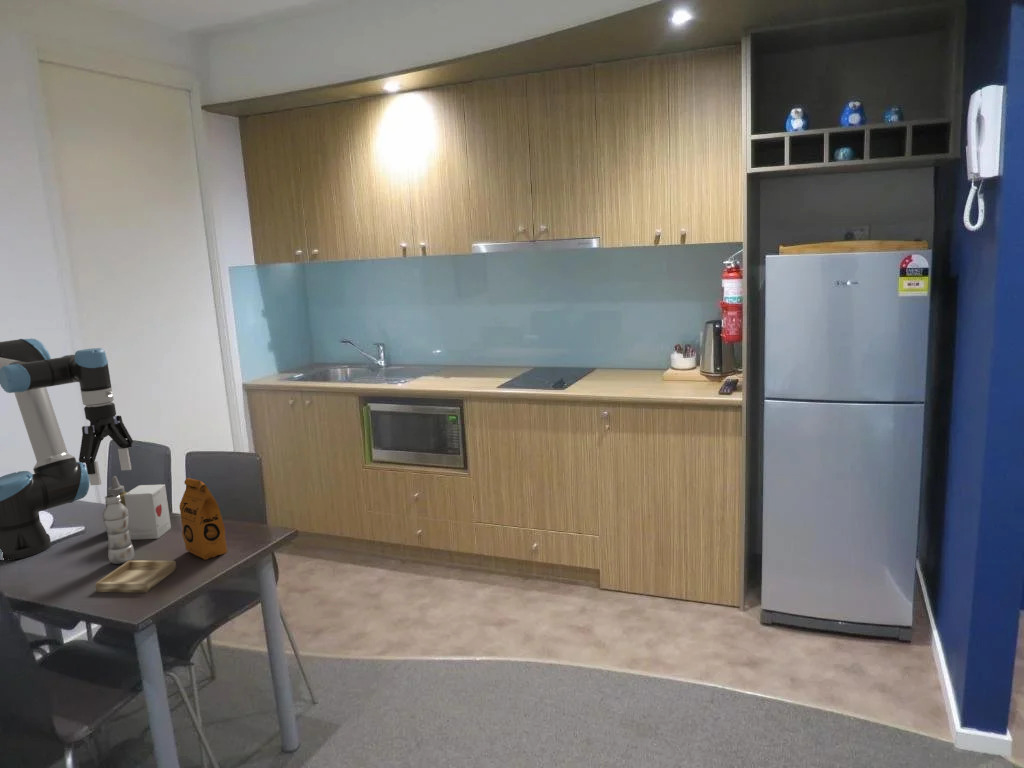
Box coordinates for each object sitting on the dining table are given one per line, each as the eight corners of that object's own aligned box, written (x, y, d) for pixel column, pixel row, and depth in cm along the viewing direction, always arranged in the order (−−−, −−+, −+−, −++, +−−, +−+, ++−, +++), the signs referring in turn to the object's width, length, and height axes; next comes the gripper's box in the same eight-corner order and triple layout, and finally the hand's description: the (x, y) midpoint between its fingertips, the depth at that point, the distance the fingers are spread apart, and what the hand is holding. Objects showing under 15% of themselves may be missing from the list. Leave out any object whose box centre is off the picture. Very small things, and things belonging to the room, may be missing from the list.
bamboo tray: (96, 591, 192) (95, 583, 191) (130, 568, 205) (128, 560, 205) (145, 592, 190) (144, 584, 189) (176, 568, 203) (175, 560, 203)
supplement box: (158, 539, 225) (151, 493, 222) (129, 540, 225) (122, 494, 222) (172, 527, 234) (166, 483, 231) (145, 528, 234) (138, 484, 231)
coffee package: (198, 563, 206) (188, 490, 202) (181, 552, 215) (171, 481, 210) (232, 552, 213) (223, 480, 209) (214, 541, 222) (205, 472, 217)
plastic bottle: (111, 559, 211) (100, 494, 208) (136, 555, 214) (126, 490, 210) (108, 568, 206) (97, 501, 202) (134, 563, 208) (124, 497, 204)
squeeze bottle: (110, 527, 236) (102, 475, 233) (138, 523, 239) (130, 471, 236) (106, 536, 229) (97, 482, 225) (134, 532, 232) (126, 478, 228)
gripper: (81, 413, 190) (95, 490, 194) (138, 394, 214) (149, 463, 218) (54, 414, 191) (69, 491, 195) (114, 395, 215) (126, 464, 219)
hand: (111, 477), depth 206 cm, fingers open, 13 cm apart
